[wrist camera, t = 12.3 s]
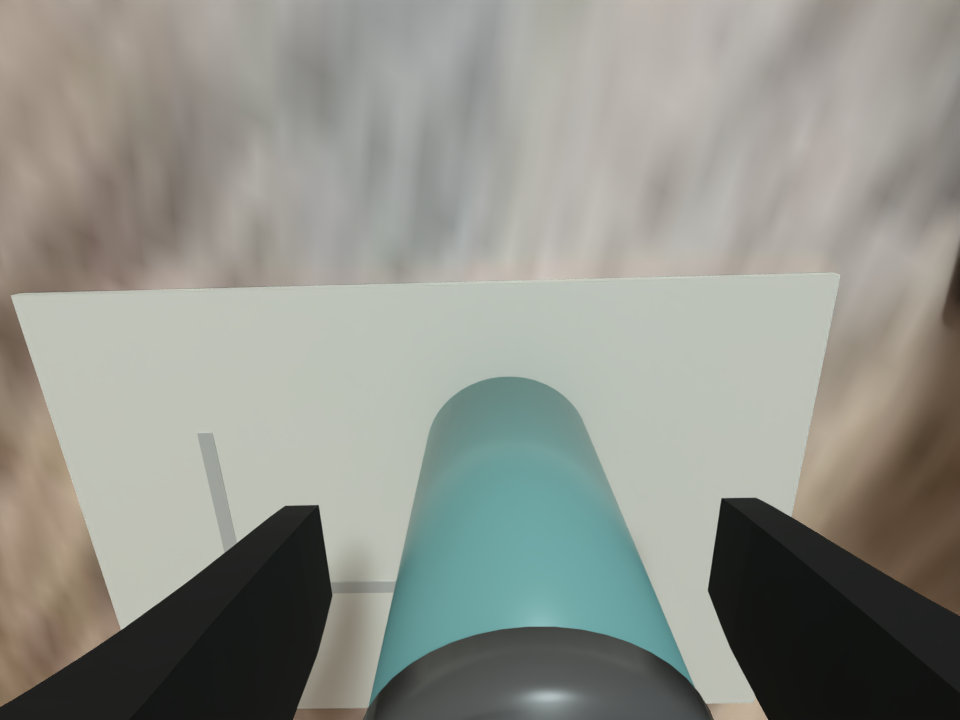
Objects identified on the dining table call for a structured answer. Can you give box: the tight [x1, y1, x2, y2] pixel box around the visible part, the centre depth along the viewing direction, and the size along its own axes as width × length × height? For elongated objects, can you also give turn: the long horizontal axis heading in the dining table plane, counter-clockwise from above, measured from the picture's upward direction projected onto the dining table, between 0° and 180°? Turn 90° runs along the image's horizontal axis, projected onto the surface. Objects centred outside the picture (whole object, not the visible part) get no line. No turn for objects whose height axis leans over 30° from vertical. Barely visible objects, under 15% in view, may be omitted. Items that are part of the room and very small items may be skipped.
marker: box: [363, 377, 714, 720], centre depth 9 cm, size 4×4×9 cm
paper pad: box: [11, 273, 840, 709], centre depth 15 cm, size 20×14×1 cm
